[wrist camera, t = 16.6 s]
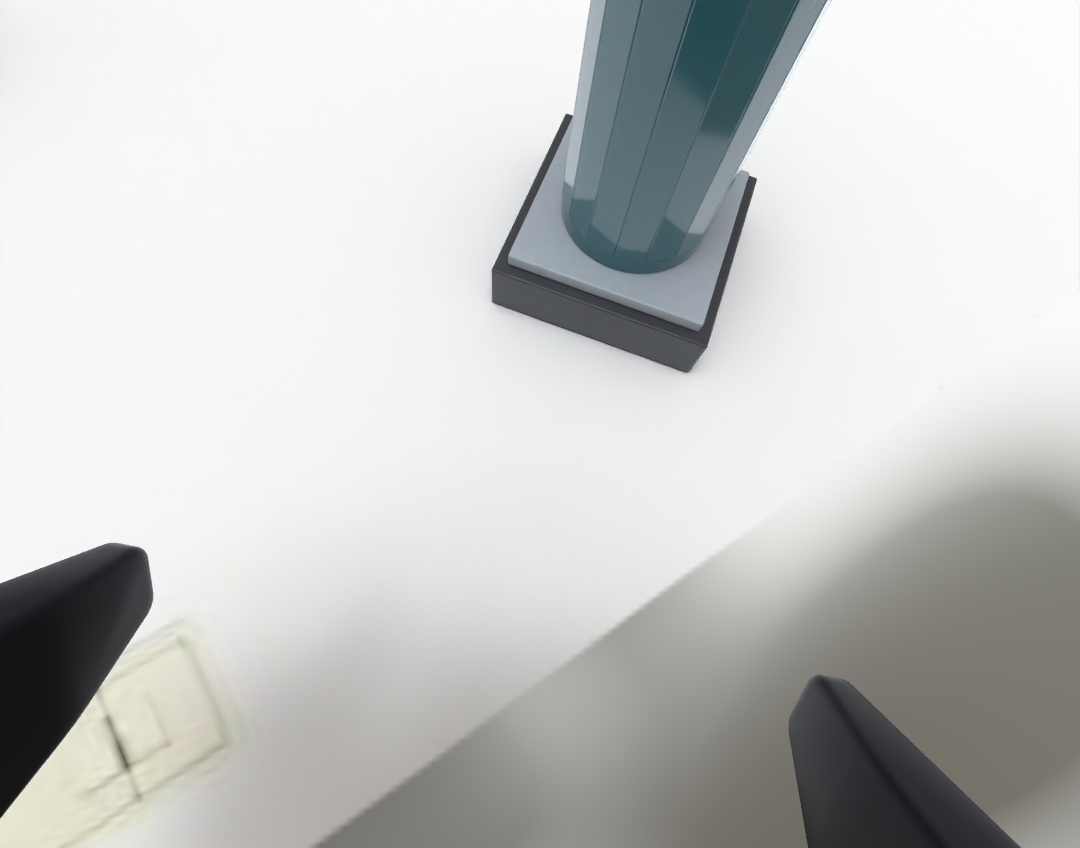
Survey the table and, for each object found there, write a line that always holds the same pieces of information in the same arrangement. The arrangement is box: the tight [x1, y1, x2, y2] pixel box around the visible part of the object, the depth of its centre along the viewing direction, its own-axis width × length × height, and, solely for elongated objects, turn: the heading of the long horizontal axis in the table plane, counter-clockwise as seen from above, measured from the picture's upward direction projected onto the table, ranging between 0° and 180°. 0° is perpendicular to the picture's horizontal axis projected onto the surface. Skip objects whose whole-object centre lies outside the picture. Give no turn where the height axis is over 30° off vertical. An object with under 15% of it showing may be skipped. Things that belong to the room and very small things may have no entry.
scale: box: [492, 114, 757, 372], centre depth 25 cm, size 9×9×3 cm
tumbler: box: [561, 0, 832, 274], centre depth 17 cm, size 6×6×13 cm
